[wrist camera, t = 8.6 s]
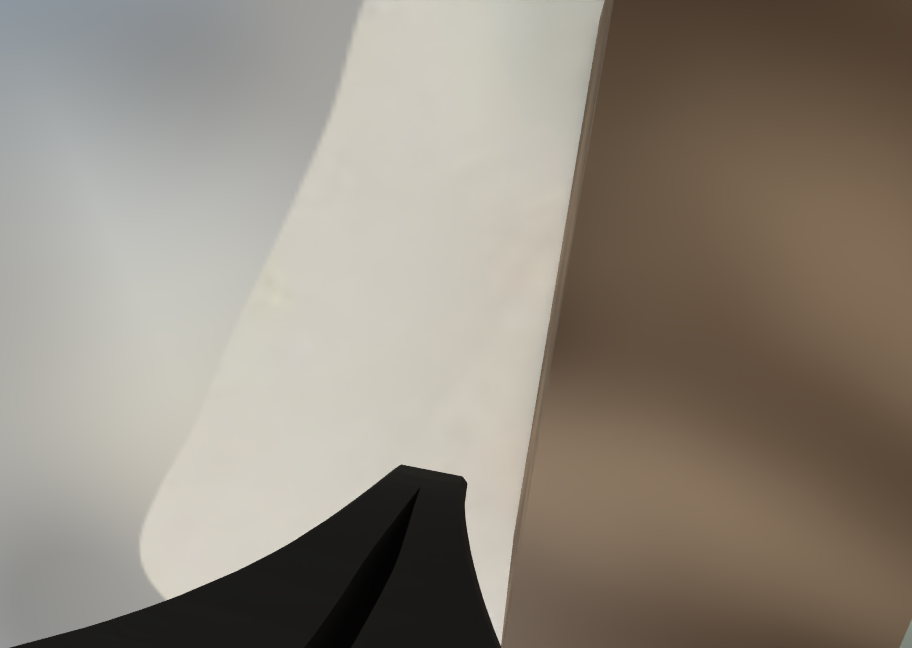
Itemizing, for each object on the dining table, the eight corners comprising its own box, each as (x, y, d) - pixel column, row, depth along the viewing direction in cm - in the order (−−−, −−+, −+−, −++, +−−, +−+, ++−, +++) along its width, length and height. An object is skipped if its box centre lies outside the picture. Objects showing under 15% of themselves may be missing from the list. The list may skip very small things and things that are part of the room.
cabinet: (757, 591, 20) (844, 773, 14) (513, 540, 21) (496, 687, 15) (939, 36, 15) (1203, -56, 9) (601, 10, 16) (629, -87, 10)
